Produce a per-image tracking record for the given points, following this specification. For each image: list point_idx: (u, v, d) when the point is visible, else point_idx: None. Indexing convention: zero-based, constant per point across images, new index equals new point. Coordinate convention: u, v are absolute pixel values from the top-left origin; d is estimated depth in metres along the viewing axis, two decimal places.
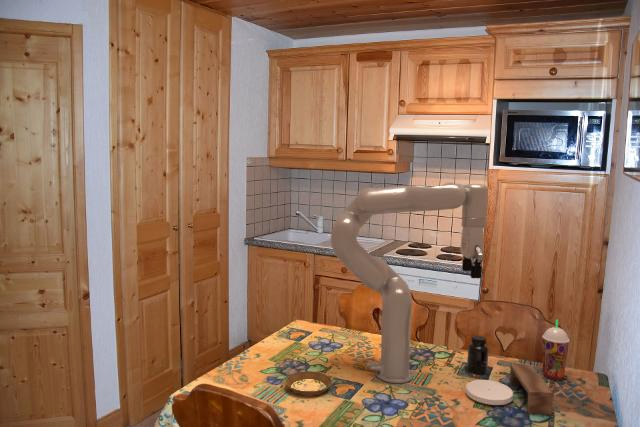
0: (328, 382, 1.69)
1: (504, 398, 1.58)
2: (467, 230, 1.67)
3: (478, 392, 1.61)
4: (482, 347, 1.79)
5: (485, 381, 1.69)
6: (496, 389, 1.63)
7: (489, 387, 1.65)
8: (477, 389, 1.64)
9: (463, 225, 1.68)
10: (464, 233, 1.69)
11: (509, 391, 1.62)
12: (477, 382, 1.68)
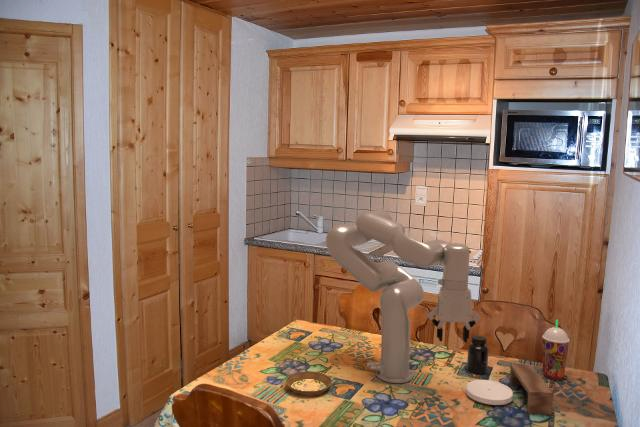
0: (328, 382, 1.69)
1: (504, 398, 1.58)
2: (463, 294, 1.58)
3: (478, 392, 1.61)
4: (482, 347, 1.79)
5: (484, 381, 1.69)
6: (496, 389, 1.63)
7: (489, 387, 1.65)
8: (477, 389, 1.64)
9: (460, 290, 1.57)
10: (456, 298, 1.58)
11: (509, 391, 1.62)
12: (477, 382, 1.68)
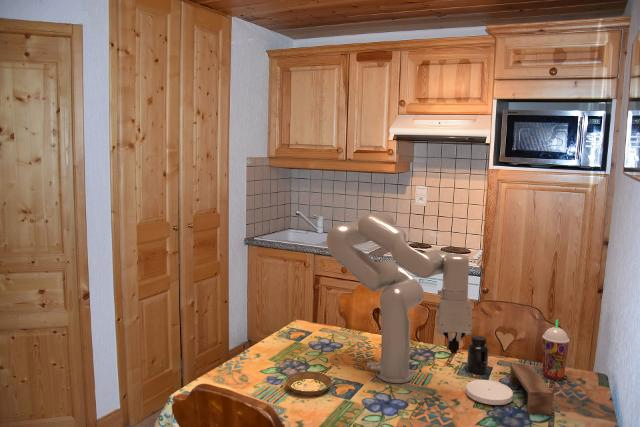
0: (328, 382, 1.69)
1: (504, 398, 1.58)
2: (463, 304, 1.58)
3: (478, 392, 1.61)
4: (482, 347, 1.79)
5: (484, 381, 1.69)
6: (496, 389, 1.63)
7: (489, 387, 1.65)
8: (477, 389, 1.64)
9: (460, 300, 1.57)
10: (456, 308, 1.58)
11: (509, 391, 1.62)
12: (477, 382, 1.68)
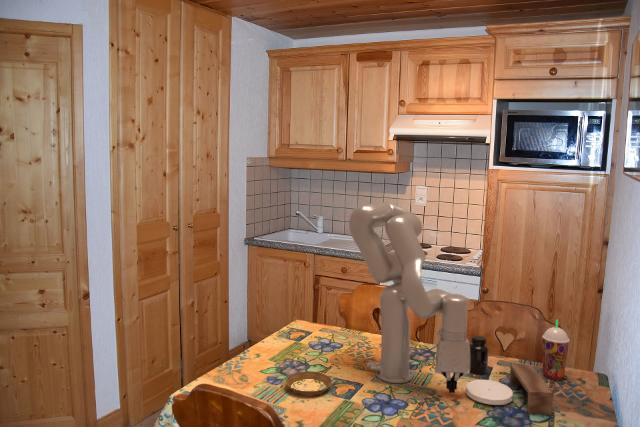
0: (328, 382, 1.69)
1: (504, 398, 1.58)
2: (462, 345, 1.60)
3: (478, 392, 1.61)
4: (482, 347, 1.79)
5: (484, 381, 1.69)
6: (496, 389, 1.63)
7: (489, 387, 1.65)
8: (477, 389, 1.64)
9: (459, 341, 1.59)
10: (454, 349, 1.60)
11: (509, 391, 1.62)
12: (477, 382, 1.68)
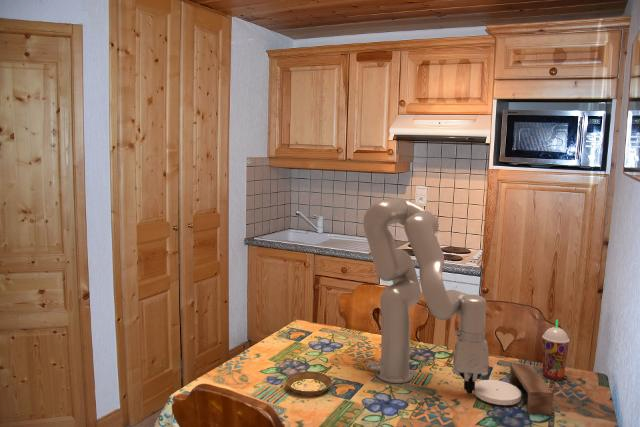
0: (328, 382, 1.69)
1: (512, 398, 1.57)
2: (480, 346, 1.59)
3: (486, 392, 1.61)
4: None
5: (493, 382, 1.69)
6: (504, 390, 1.63)
7: (497, 387, 1.65)
8: (485, 389, 1.63)
9: (477, 342, 1.58)
10: (472, 350, 1.59)
11: (517, 392, 1.62)
12: (485, 382, 1.68)
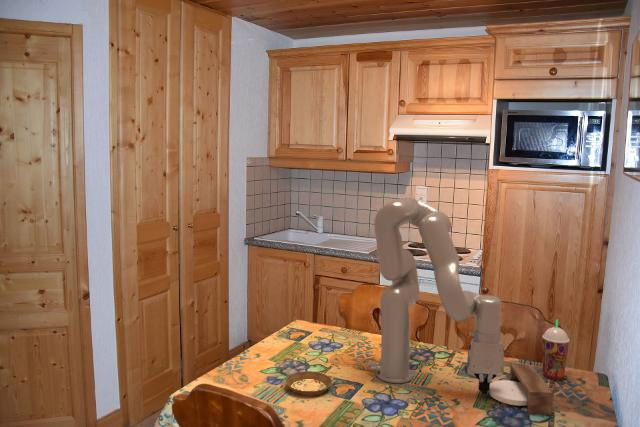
0: (328, 382, 1.69)
1: (527, 399, 1.57)
2: (496, 346, 1.59)
3: (501, 393, 1.61)
4: None
5: (507, 382, 1.68)
6: (519, 390, 1.63)
7: (512, 387, 1.64)
8: (500, 389, 1.63)
9: (493, 343, 1.58)
10: (488, 350, 1.59)
11: None
12: (500, 382, 1.68)
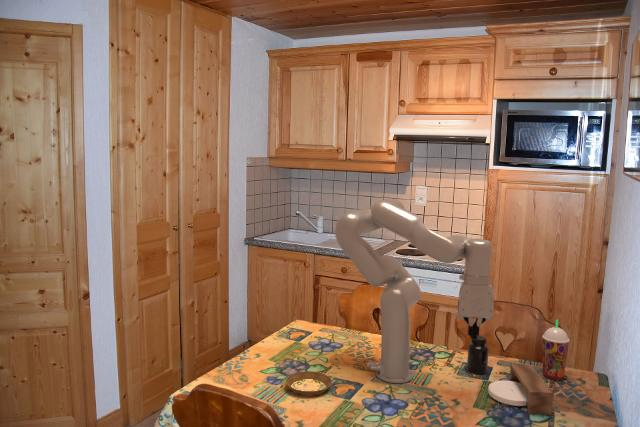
0: (328, 382, 1.69)
1: (527, 399, 1.57)
2: (485, 289, 1.57)
3: (501, 393, 1.61)
4: (482, 347, 1.79)
5: (507, 382, 1.68)
6: (519, 390, 1.63)
7: (512, 388, 1.65)
8: (500, 389, 1.63)
9: (482, 285, 1.56)
10: (477, 293, 1.57)
11: None
12: (500, 383, 1.68)
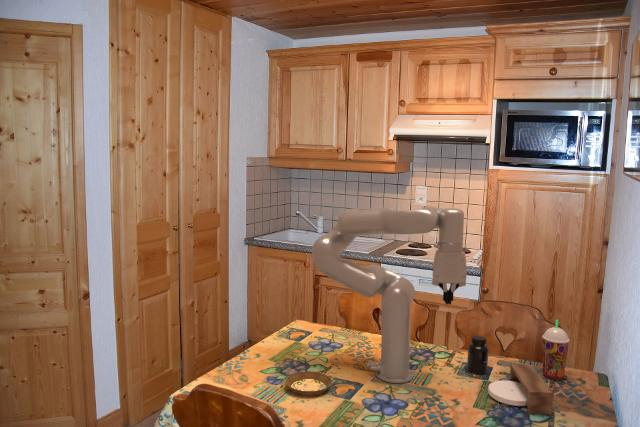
0: (328, 382, 1.69)
1: (527, 399, 1.57)
2: (458, 256, 1.64)
3: (501, 393, 1.61)
4: (482, 347, 1.79)
5: (507, 382, 1.68)
6: (519, 390, 1.63)
7: (512, 388, 1.65)
8: (500, 389, 1.63)
9: (455, 252, 1.63)
10: (451, 260, 1.65)
11: None
12: (500, 383, 1.68)
